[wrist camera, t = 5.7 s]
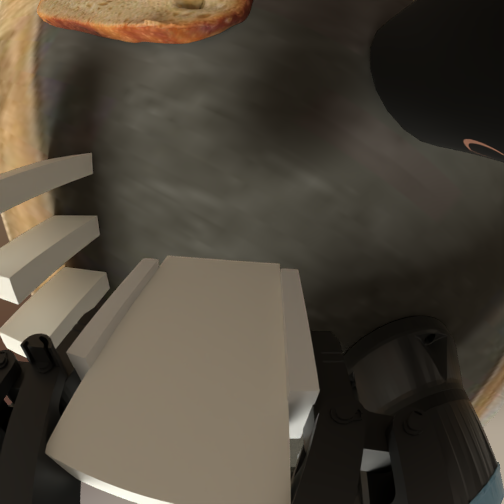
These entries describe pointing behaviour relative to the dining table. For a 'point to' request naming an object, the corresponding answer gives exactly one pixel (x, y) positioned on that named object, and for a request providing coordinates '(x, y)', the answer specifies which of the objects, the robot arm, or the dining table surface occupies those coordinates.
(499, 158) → the coffee jar
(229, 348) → the domino
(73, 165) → the domino
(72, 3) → the slice of bread
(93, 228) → the domino
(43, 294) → the domino
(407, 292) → the dining table surface
